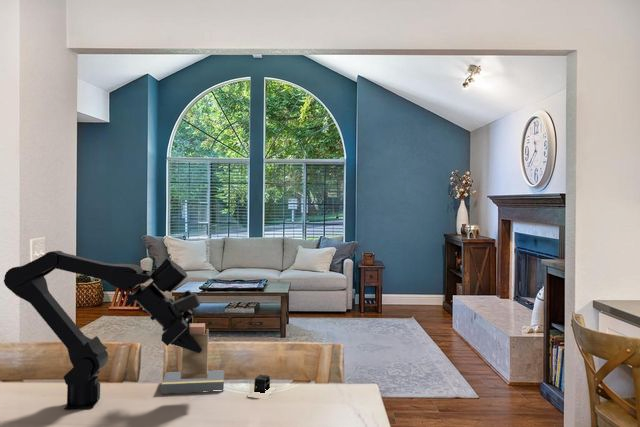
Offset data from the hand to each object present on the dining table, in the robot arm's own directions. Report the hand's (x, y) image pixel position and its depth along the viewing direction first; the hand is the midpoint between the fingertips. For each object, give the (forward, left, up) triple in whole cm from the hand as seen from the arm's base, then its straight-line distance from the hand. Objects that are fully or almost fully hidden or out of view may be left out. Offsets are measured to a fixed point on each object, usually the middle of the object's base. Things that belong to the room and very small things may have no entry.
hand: (201, 348), depth 123 cm
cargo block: (-1, 0, +3) cm, 4 cm away
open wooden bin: (-1, 0, -7) cm, 7 cm away
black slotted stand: (+16, +4, -14) cm, 22 cm away
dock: (-2, +11, -13) cm, 17 cm away
